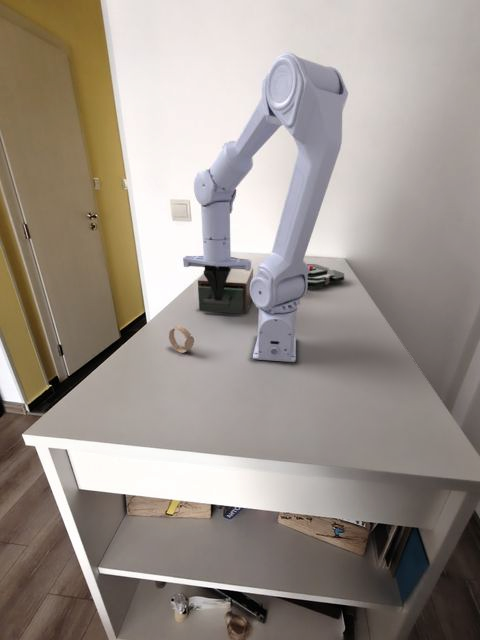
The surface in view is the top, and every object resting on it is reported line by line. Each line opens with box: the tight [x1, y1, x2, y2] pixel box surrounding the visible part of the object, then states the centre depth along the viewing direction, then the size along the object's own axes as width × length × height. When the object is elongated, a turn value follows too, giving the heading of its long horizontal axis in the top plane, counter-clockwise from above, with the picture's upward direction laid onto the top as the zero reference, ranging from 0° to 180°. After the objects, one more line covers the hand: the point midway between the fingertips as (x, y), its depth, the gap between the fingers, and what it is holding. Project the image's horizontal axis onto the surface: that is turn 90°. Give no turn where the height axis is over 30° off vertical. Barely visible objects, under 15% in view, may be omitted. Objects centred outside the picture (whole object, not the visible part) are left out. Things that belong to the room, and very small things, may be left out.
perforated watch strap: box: [168, 325, 195, 354], centre depth 63 cm, size 3×5×5 cm, turn 58°
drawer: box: [197, 284, 244, 314], centre depth 81 cm, size 17×10×6 cm, turn 175°
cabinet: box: [197, 267, 254, 314], centre depth 86 cm, size 14×12×8 cm
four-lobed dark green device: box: [306, 263, 345, 288], centre depth 106 cm, size 18×18×5 cm
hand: (218, 299), depth 76 cm, fingers closed
